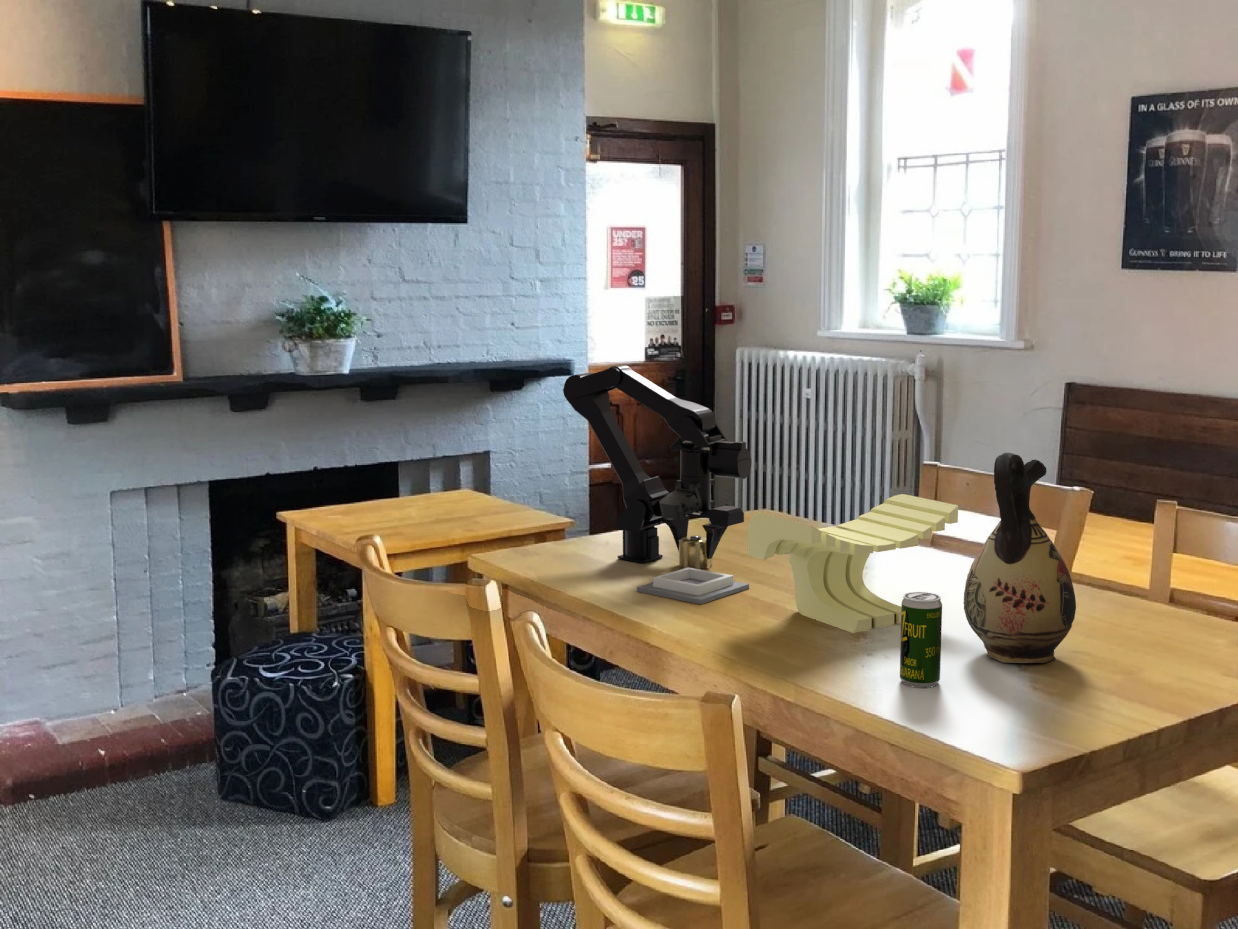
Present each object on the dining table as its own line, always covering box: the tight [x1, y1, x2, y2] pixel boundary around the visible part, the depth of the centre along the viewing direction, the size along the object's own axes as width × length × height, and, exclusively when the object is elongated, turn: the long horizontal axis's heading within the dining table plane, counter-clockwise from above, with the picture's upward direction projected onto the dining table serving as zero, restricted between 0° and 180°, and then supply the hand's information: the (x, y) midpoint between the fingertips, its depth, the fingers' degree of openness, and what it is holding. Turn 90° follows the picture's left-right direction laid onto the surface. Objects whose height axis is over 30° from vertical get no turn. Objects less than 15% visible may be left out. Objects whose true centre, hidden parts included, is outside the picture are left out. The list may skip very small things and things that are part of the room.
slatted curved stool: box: [747, 493, 959, 634], centre depth 210 cm, size 30×16×18 cm, turn 121°
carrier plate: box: [636, 567, 750, 605], centre depth 229 cm, size 14×14×2 cm
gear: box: [678, 535, 713, 570], centre depth 247 cm, size 6×6×6 cm
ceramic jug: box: [963, 452, 1077, 664], centre depth 186 cm, size 17×15×30 cm
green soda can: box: [899, 591, 943, 688], centre depth 177 cm, size 5×5×12 cm
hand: (695, 556), depth 247 cm, fingers closed on gear, 6 cm apart
